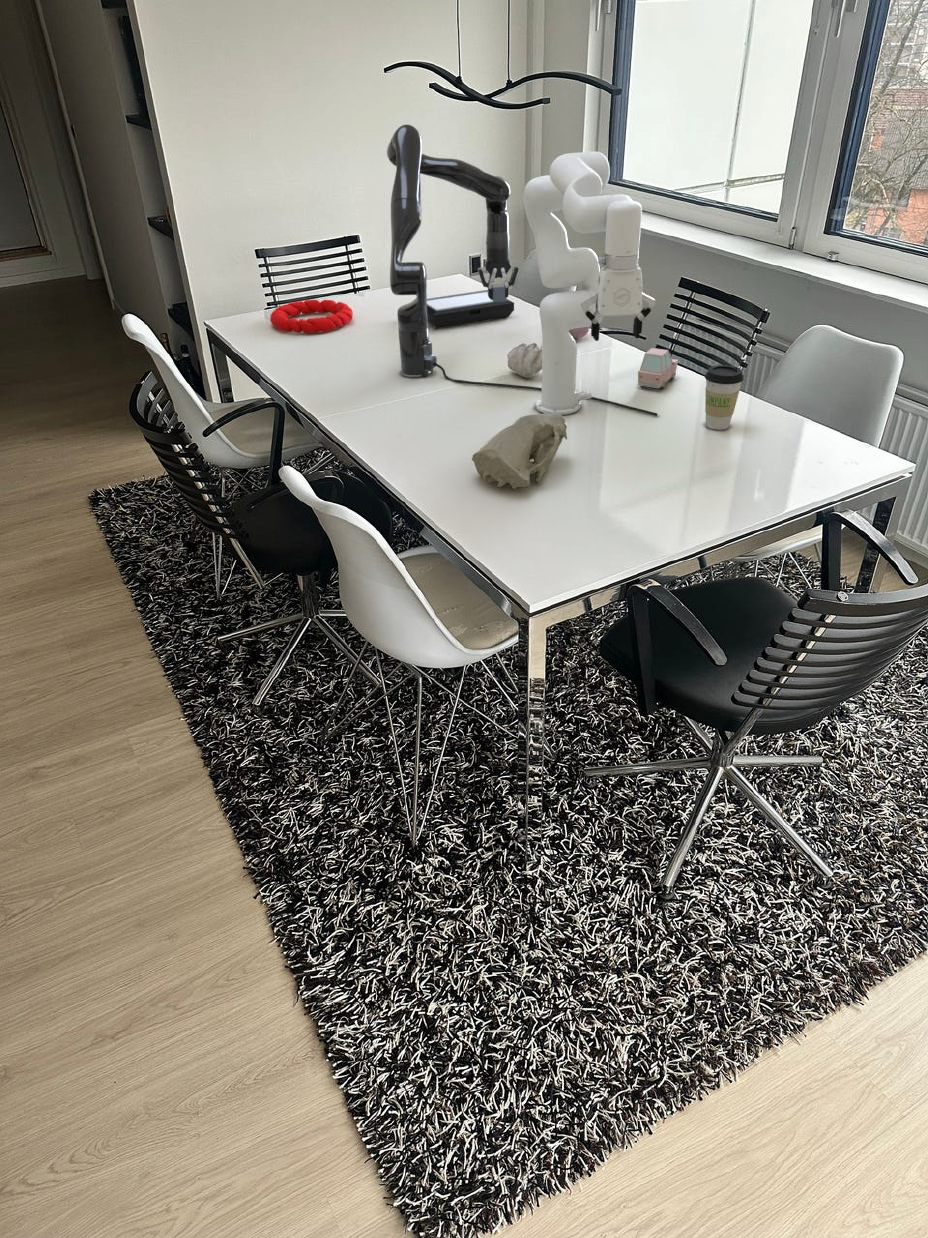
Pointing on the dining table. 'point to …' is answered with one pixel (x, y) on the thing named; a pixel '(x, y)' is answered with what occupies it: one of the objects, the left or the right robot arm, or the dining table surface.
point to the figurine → (578, 332)
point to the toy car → (657, 368)
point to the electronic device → (466, 309)
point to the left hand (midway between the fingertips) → (498, 298)
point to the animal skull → (521, 450)
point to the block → (498, 292)
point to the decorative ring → (313, 324)
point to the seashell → (525, 360)
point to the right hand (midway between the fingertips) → (615, 337)
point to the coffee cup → (721, 395)
